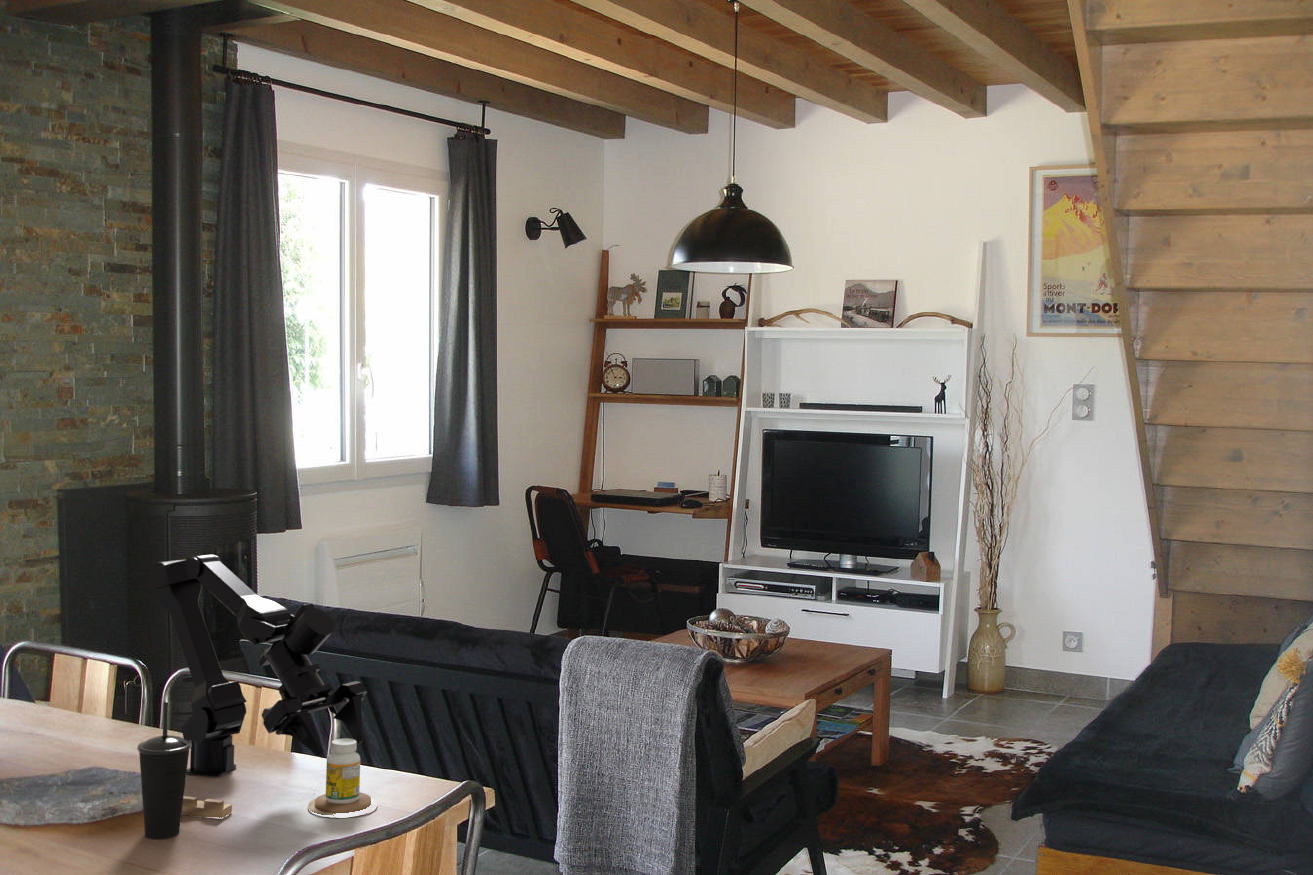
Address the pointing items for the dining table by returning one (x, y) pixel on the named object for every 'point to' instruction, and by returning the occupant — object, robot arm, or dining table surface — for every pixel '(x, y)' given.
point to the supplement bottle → (343, 772)
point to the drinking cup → (163, 781)
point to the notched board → (205, 807)
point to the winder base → (338, 805)
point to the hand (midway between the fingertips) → (341, 748)
